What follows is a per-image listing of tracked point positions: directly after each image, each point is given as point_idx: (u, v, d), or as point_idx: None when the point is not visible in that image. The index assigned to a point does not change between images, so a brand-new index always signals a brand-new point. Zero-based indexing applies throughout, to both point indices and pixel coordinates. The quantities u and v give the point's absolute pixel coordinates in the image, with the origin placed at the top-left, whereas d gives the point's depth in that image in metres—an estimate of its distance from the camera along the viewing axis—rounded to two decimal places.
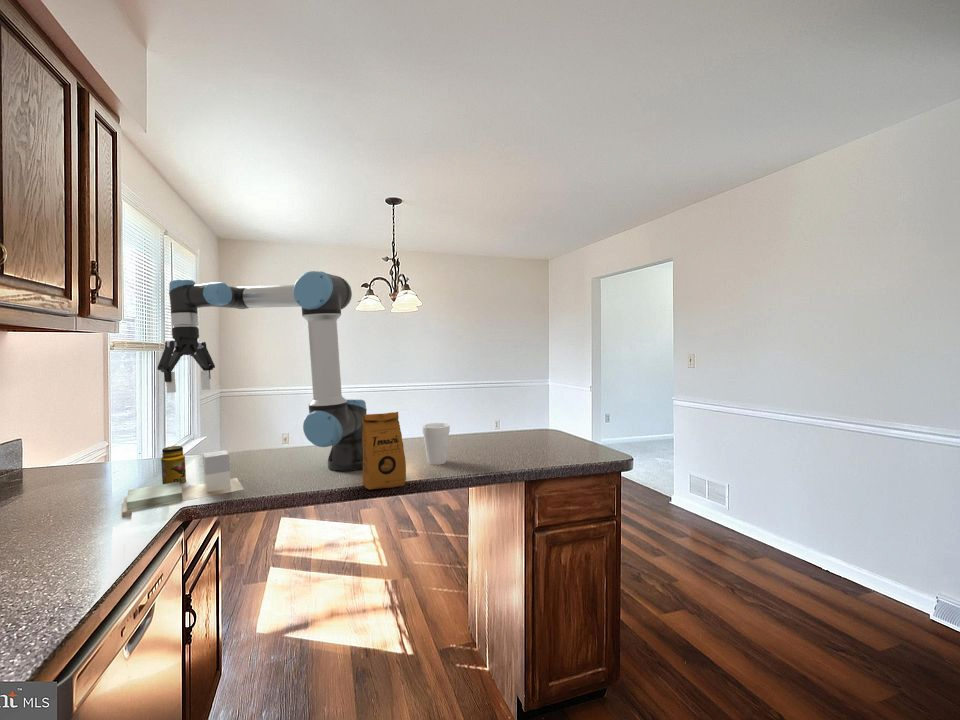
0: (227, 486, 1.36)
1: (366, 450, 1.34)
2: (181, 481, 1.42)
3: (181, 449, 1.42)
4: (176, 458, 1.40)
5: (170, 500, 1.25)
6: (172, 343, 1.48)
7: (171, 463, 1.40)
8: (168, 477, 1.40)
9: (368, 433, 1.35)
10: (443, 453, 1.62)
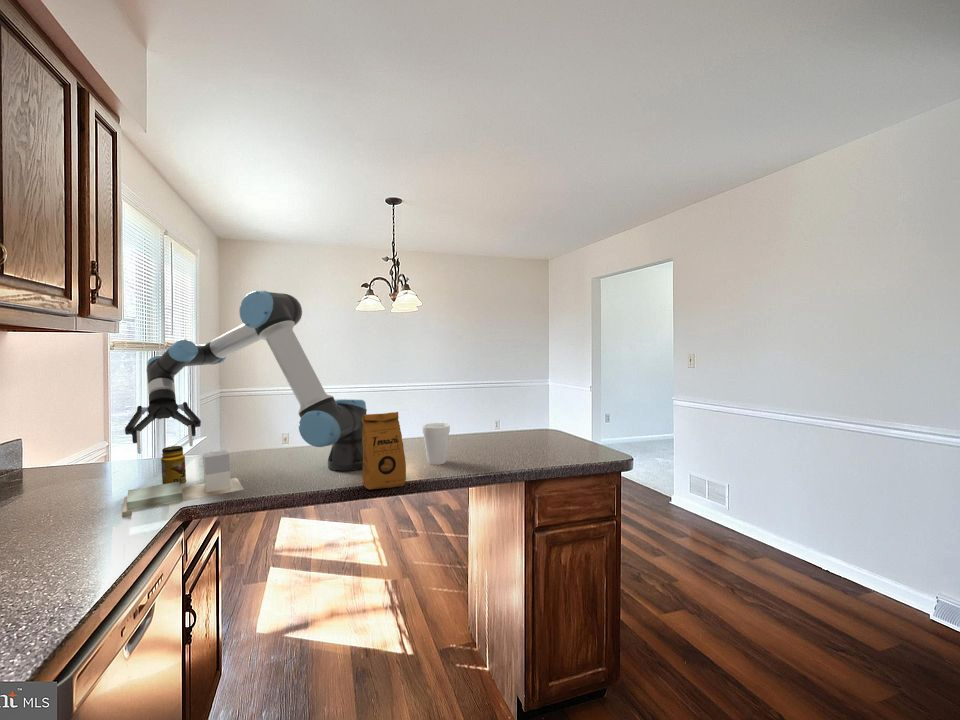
0: (227, 486, 1.36)
1: (366, 450, 1.34)
2: (181, 481, 1.42)
3: (181, 449, 1.42)
4: (176, 458, 1.40)
5: (170, 500, 1.25)
6: (138, 408, 1.51)
7: (170, 463, 1.40)
8: (168, 477, 1.40)
9: (368, 433, 1.35)
10: (443, 453, 1.62)
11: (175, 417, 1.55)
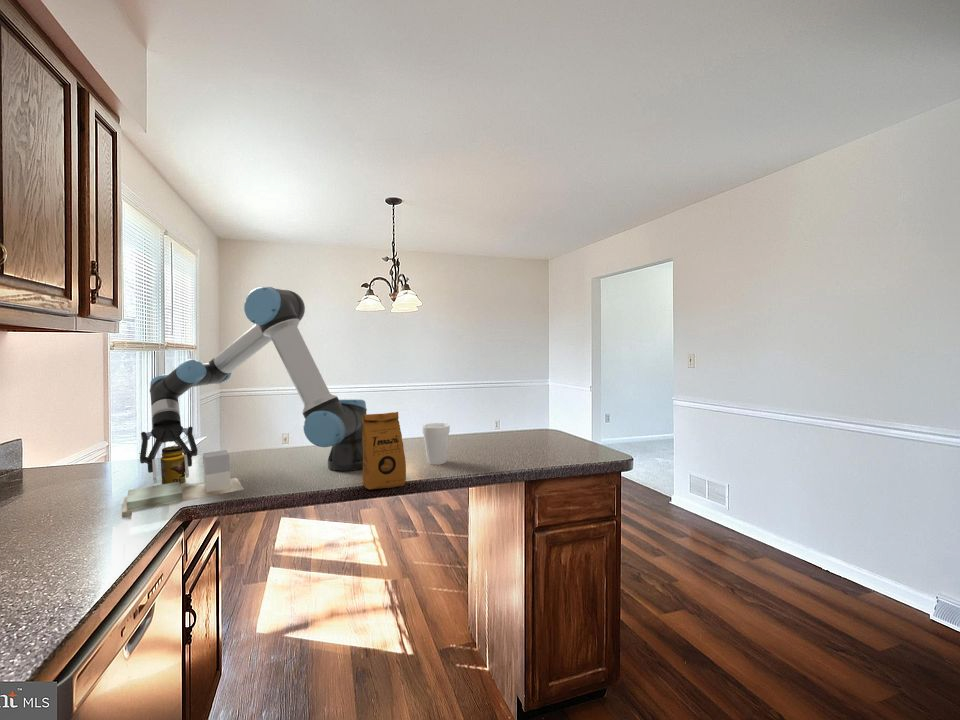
0: (227, 486, 1.36)
1: (366, 450, 1.34)
2: (180, 481, 1.41)
3: (180, 449, 1.42)
4: (175, 458, 1.40)
5: (170, 500, 1.25)
6: (143, 434, 1.44)
7: (170, 463, 1.39)
8: (168, 478, 1.39)
9: (368, 433, 1.35)
10: (443, 453, 1.62)
11: (176, 442, 1.48)
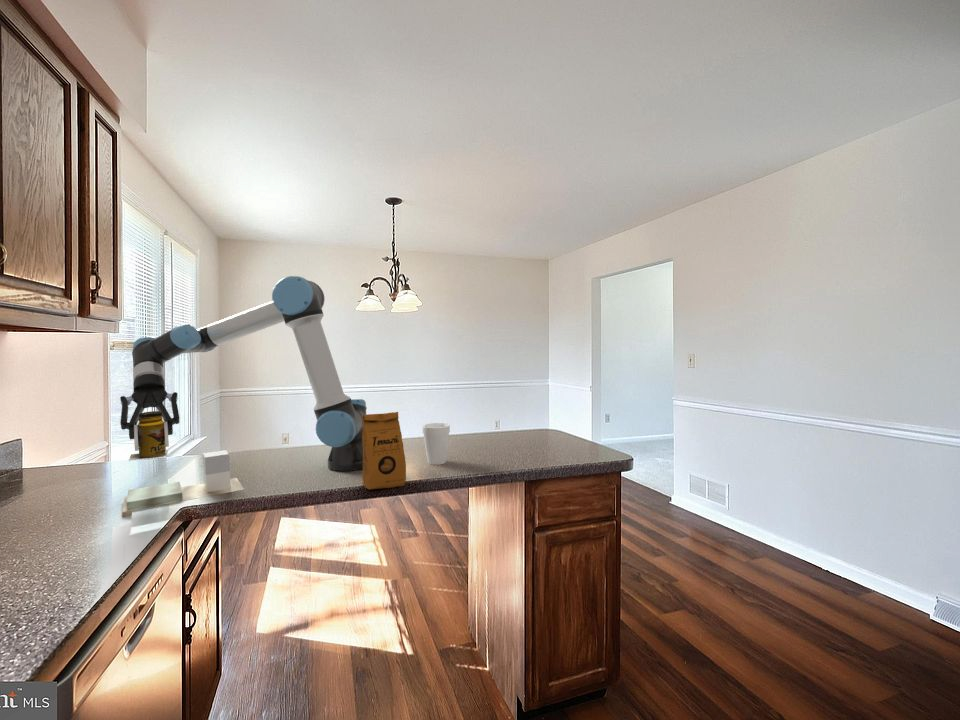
0: (227, 486, 1.36)
1: (366, 450, 1.34)
2: (159, 449, 1.28)
3: (159, 414, 1.28)
4: (153, 424, 1.27)
5: (170, 500, 1.25)
6: (122, 398, 1.30)
7: (147, 429, 1.26)
8: (145, 445, 1.26)
9: (368, 433, 1.35)
10: (443, 453, 1.62)
11: (158, 408, 1.34)
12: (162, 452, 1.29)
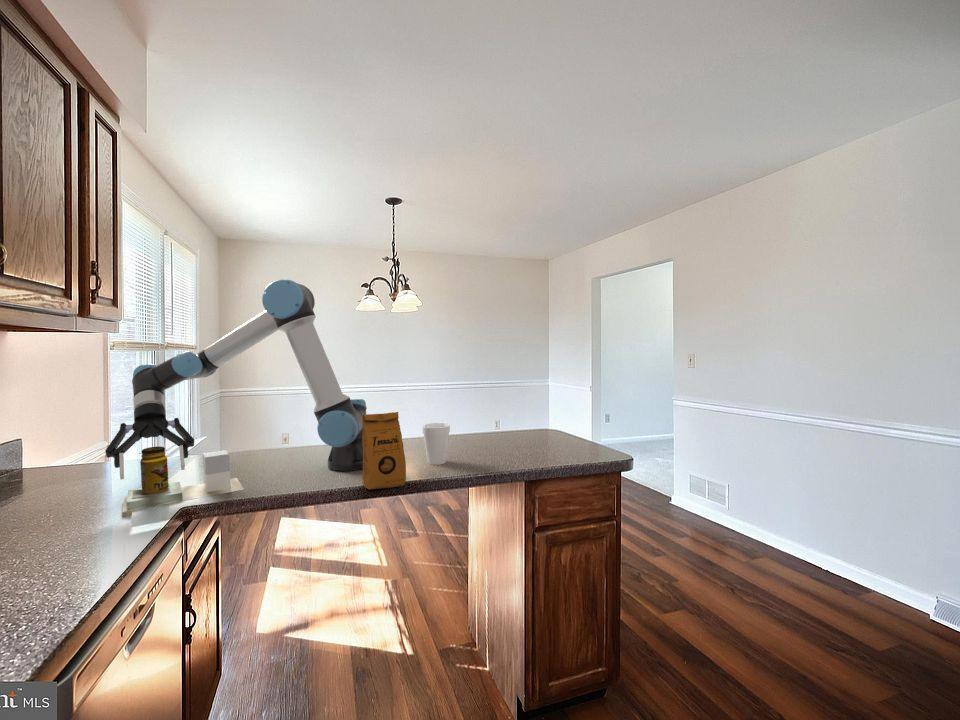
0: (227, 486, 1.36)
1: (366, 450, 1.34)
2: (162, 485, 1.27)
3: (162, 449, 1.27)
4: (157, 460, 1.26)
5: (170, 500, 1.25)
6: (122, 425, 1.30)
7: (151, 465, 1.25)
8: (148, 482, 1.25)
9: (368, 433, 1.35)
10: (443, 453, 1.62)
11: (165, 436, 1.34)
12: (165, 488, 1.28)
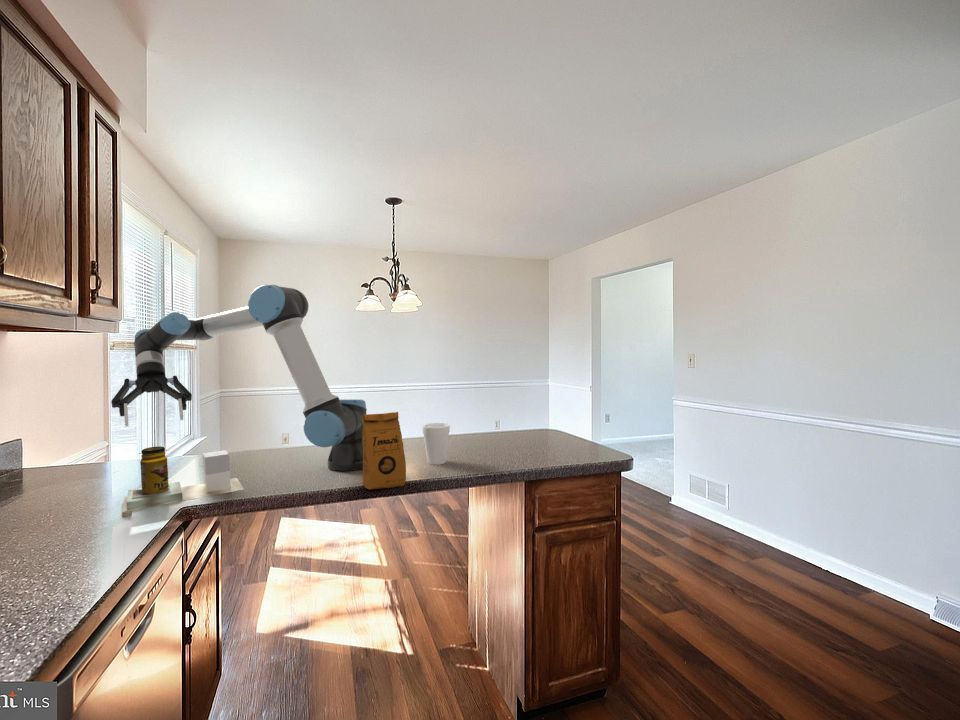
0: (227, 486, 1.36)
1: (366, 450, 1.34)
2: (162, 485, 1.27)
3: (162, 449, 1.27)
4: (157, 460, 1.26)
5: (170, 500, 1.25)
6: (126, 380, 1.44)
7: (151, 465, 1.25)
8: (148, 482, 1.25)
9: (368, 433, 1.35)
10: (443, 453, 1.62)
11: (165, 391, 1.49)
12: (165, 488, 1.28)
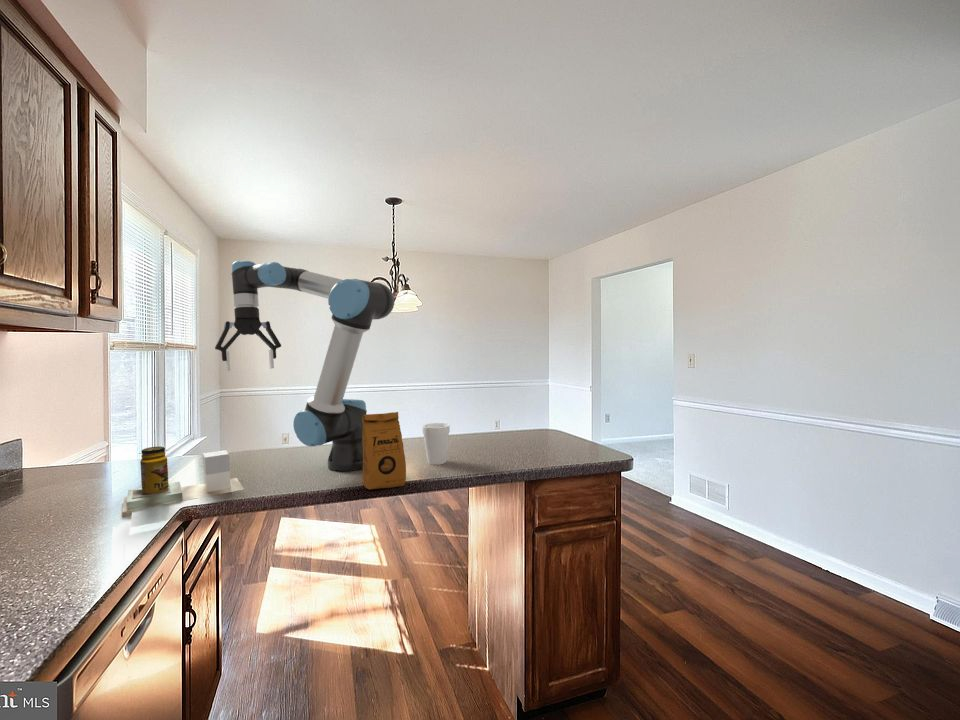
0: (227, 486, 1.36)
1: (366, 450, 1.34)
2: (162, 485, 1.27)
3: (162, 449, 1.27)
4: (157, 460, 1.26)
5: (170, 500, 1.25)
6: (227, 324, 1.55)
7: (151, 465, 1.25)
8: (148, 482, 1.25)
9: (368, 433, 1.35)
10: (443, 453, 1.62)
11: (258, 335, 1.62)
12: (165, 488, 1.28)
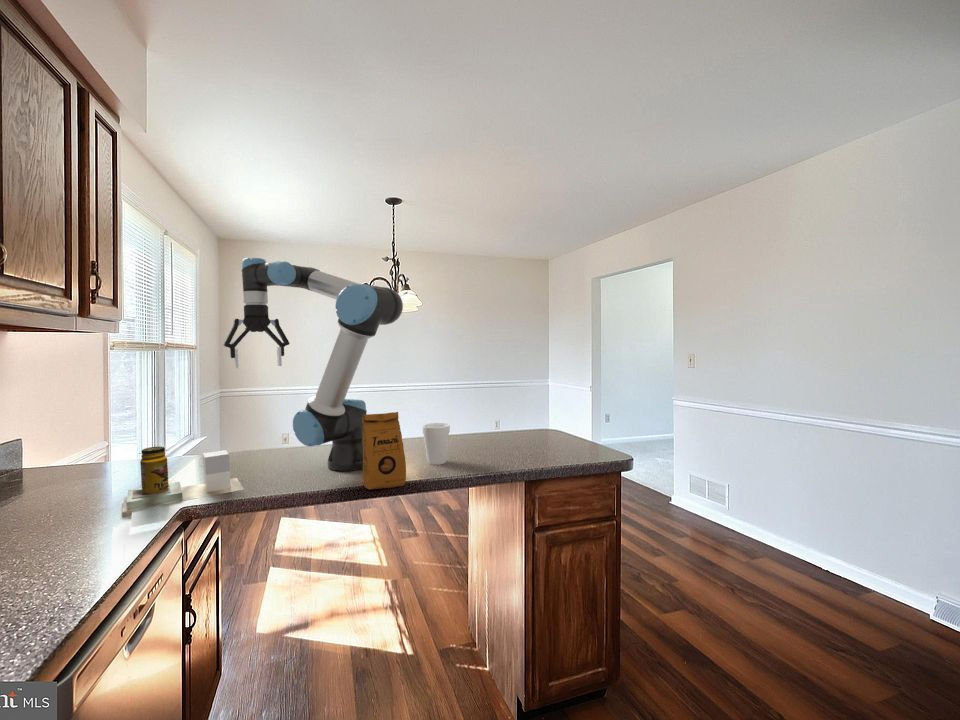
0: (227, 486, 1.36)
1: (366, 450, 1.34)
2: (162, 485, 1.27)
3: (162, 449, 1.27)
4: (157, 460, 1.26)
5: (170, 500, 1.25)
6: (236, 321, 1.55)
7: (151, 465, 1.25)
8: (148, 482, 1.25)
9: (368, 433, 1.35)
10: (443, 453, 1.62)
11: (267, 332, 1.62)
12: (165, 488, 1.28)
